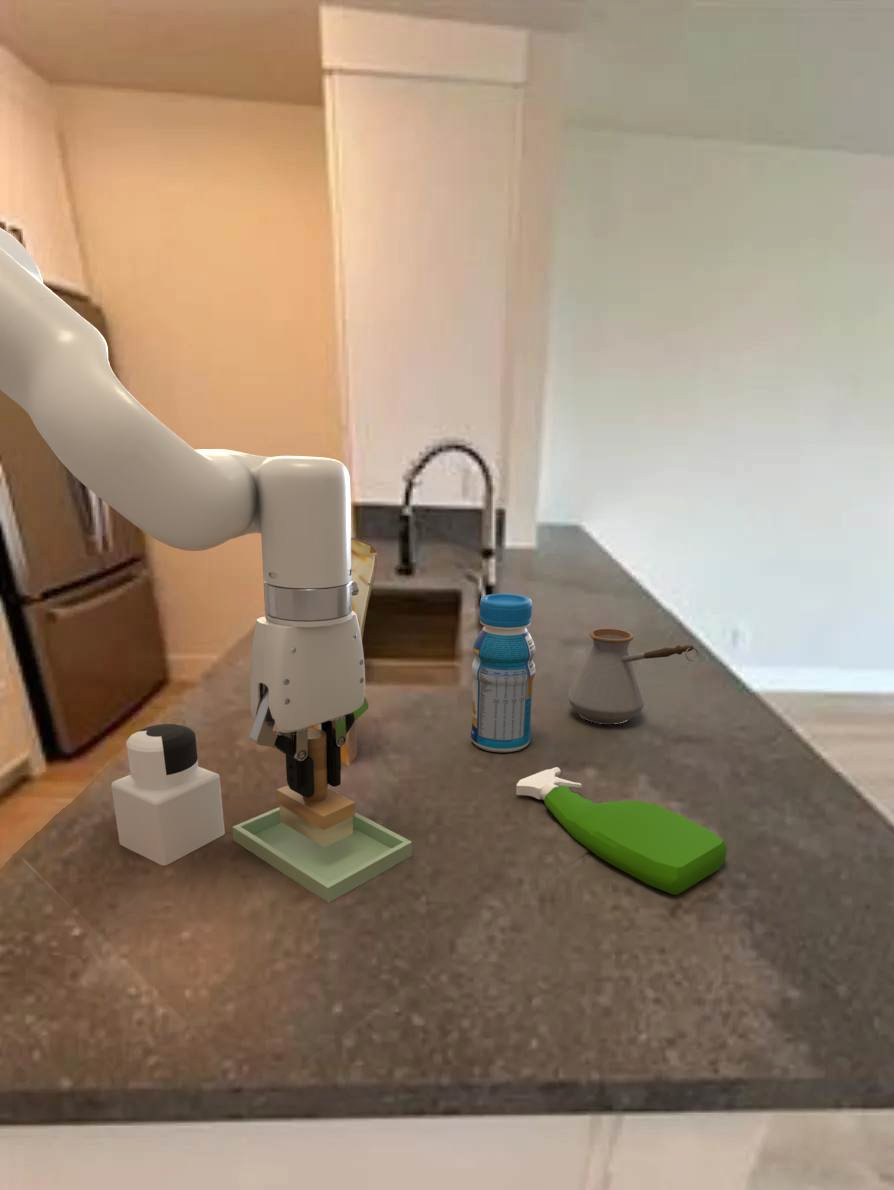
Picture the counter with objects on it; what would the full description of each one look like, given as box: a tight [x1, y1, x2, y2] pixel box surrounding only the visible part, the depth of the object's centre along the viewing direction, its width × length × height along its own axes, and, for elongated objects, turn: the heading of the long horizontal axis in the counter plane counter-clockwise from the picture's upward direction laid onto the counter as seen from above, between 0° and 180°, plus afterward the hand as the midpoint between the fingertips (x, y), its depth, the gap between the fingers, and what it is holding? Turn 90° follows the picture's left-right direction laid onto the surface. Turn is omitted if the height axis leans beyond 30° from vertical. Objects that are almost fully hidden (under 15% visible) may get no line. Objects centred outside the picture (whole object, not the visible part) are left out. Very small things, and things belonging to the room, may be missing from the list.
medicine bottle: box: [111, 723, 226, 867], centre depth 71 cm, size 7×7×12 cm
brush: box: [275, 729, 356, 847], centre depth 70 cm, size 7×4×10 cm, turn 50°
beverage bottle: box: [470, 593, 536, 753], centre depth 96 cm, size 8×8×20 cm
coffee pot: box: [567, 628, 699, 724], centre depth 103 cm, size 21×12×15 cm, turn 34°
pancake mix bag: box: [308, 537, 378, 767], centre depth 92 cm, size 7×19×28 cm, turn 33°
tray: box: [232, 806, 413, 904], centre depth 72 cm, size 15×10×2 cm
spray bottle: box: [515, 766, 728, 896], centre depth 78 cm, size 3×11×24 cm
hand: (314, 785), depth 70 cm, fingers closed on brush, 2 cm apart
